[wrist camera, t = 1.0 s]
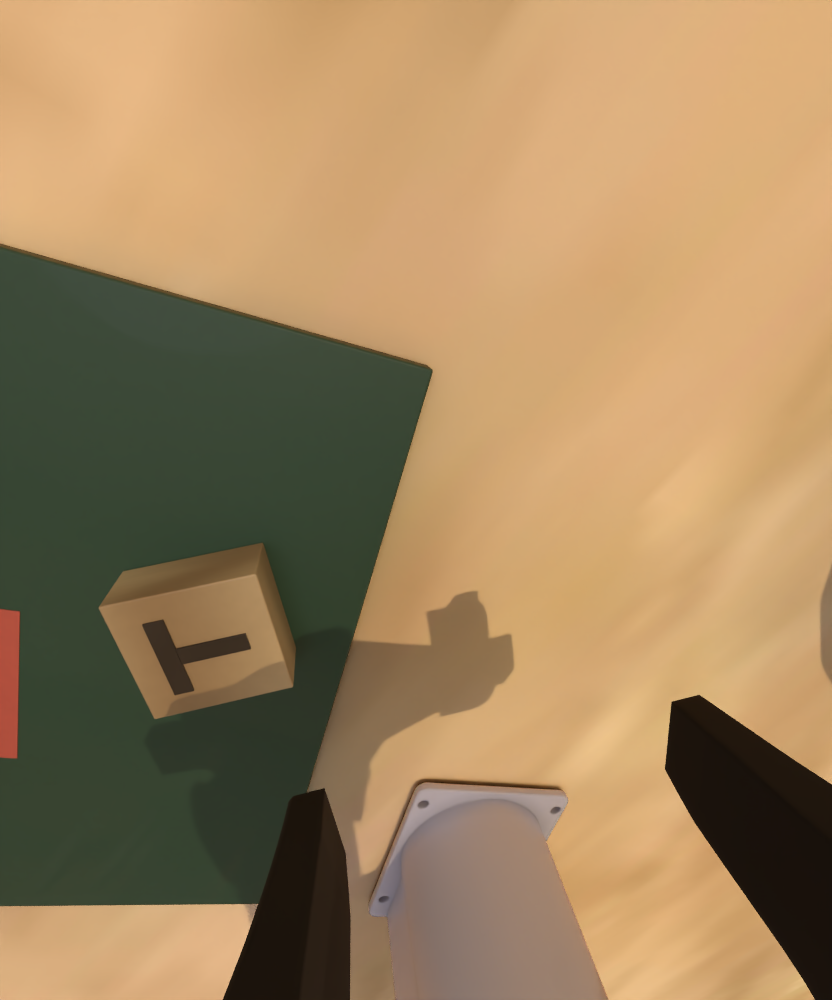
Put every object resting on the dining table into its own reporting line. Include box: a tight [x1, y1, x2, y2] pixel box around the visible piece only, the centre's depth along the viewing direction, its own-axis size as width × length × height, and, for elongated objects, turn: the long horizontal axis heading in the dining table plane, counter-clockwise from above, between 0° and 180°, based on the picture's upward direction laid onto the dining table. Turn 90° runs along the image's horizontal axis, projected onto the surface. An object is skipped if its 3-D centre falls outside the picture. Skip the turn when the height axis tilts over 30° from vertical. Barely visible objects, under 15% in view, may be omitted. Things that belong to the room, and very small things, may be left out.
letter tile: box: [99, 543, 296, 719], centre depth 16 cm, size 4×4×2 cm
